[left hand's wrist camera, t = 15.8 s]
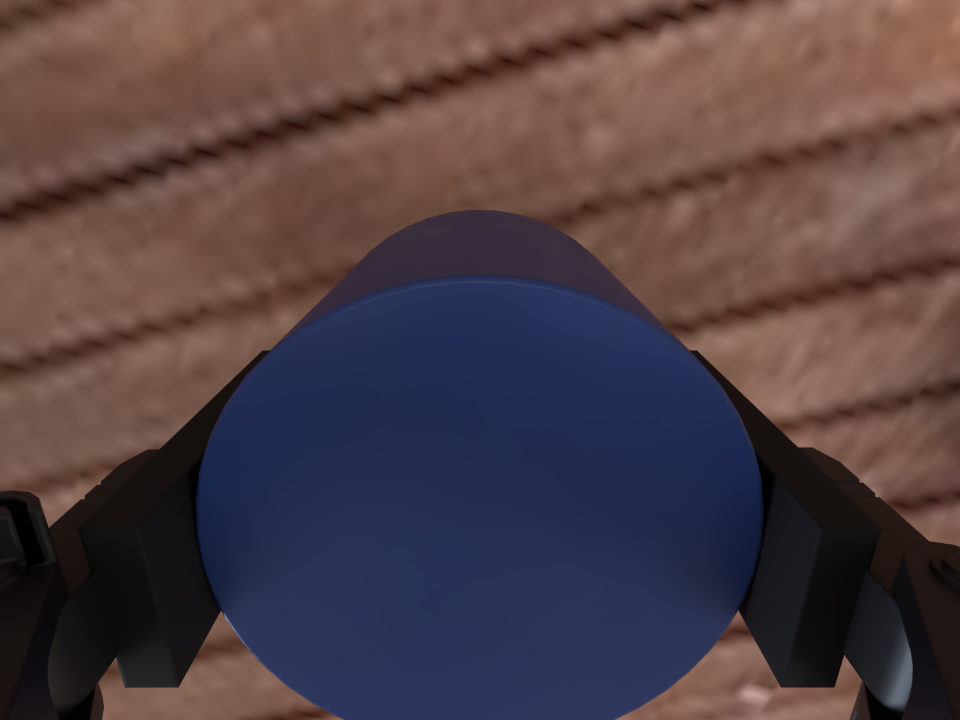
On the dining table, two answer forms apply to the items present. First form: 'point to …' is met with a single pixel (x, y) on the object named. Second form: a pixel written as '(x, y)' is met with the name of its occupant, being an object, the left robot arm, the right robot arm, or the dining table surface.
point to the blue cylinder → (479, 488)
